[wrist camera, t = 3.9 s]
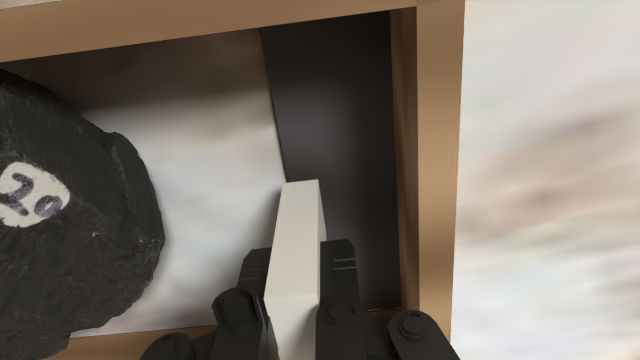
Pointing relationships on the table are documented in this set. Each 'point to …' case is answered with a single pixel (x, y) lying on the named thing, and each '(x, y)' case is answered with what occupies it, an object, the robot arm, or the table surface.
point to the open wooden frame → (318, 123)
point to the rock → (67, 222)
